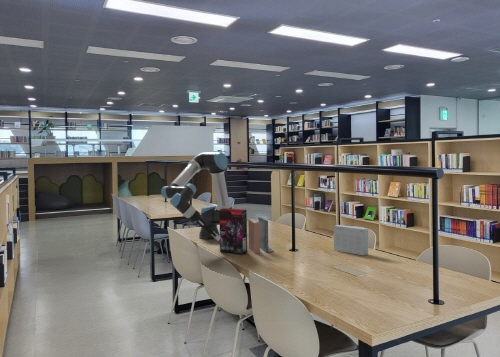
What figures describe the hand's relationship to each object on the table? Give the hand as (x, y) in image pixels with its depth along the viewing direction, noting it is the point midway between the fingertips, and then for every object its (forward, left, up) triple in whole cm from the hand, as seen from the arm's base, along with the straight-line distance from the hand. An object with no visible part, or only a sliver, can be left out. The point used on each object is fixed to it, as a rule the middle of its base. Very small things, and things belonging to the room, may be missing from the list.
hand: (219, 239), depth 246 cm
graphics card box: (0, +9, -9) cm, 13 cm away
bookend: (0, +31, -9) cm, 32 cm away
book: (0, +23, -9) cm, 24 cm away
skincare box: (+24, +78, -9) cm, 82 cm away
